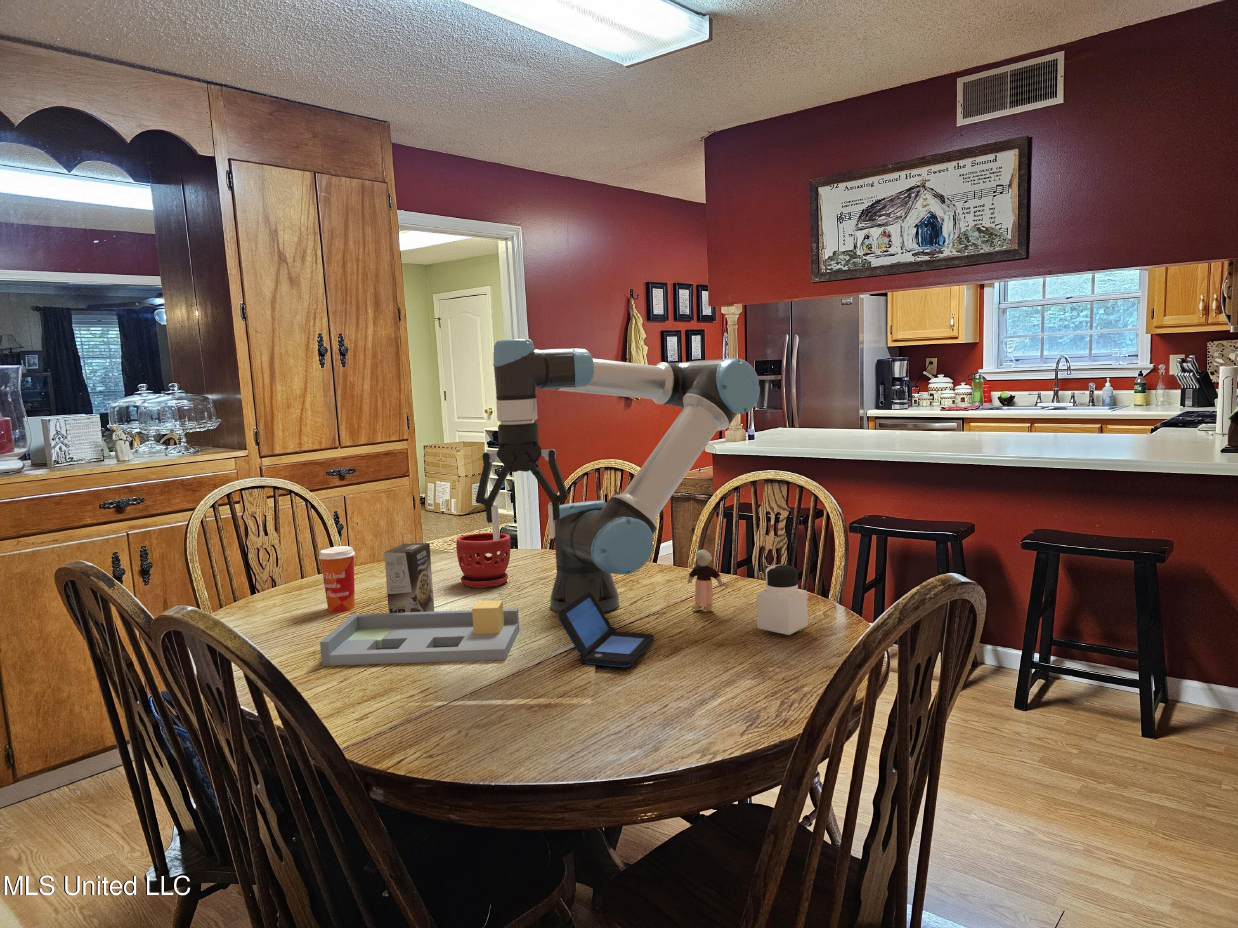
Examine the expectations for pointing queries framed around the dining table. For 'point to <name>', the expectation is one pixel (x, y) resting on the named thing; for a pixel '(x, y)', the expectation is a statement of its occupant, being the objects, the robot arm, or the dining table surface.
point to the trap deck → (416, 638)
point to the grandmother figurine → (704, 581)
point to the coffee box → (409, 578)
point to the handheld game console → (600, 635)
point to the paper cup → (338, 578)
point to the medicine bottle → (782, 602)
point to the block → (488, 617)
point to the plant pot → (483, 559)
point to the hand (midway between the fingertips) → (524, 538)
